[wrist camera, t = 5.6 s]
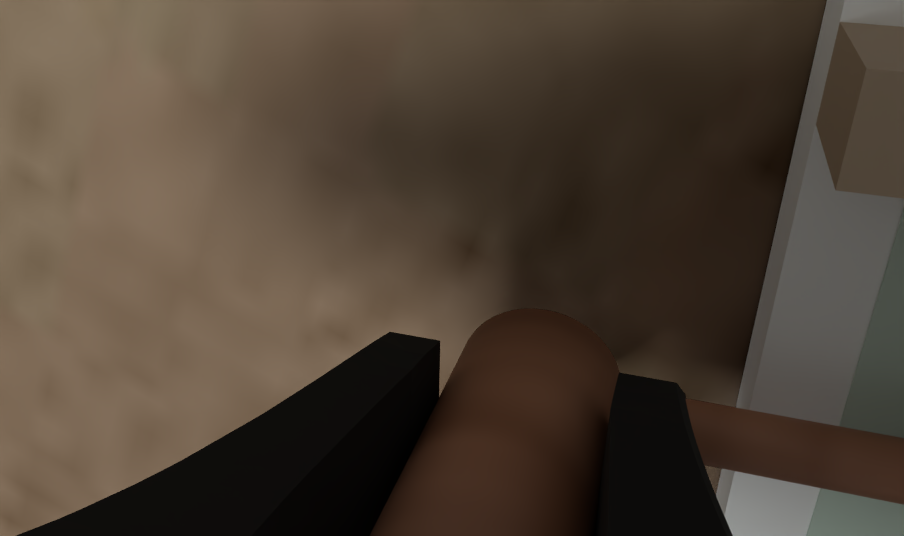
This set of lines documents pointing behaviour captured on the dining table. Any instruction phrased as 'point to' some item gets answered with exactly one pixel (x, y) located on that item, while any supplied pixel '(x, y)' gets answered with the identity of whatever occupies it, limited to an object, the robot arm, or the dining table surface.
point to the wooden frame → (834, 277)
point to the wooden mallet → (585, 439)
